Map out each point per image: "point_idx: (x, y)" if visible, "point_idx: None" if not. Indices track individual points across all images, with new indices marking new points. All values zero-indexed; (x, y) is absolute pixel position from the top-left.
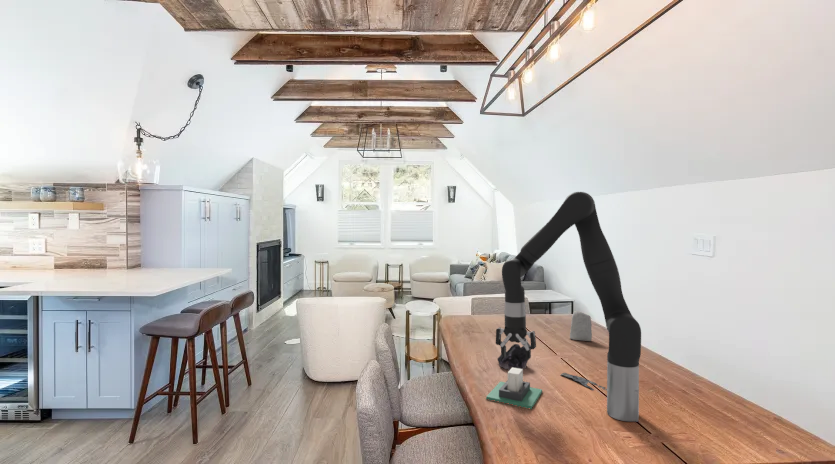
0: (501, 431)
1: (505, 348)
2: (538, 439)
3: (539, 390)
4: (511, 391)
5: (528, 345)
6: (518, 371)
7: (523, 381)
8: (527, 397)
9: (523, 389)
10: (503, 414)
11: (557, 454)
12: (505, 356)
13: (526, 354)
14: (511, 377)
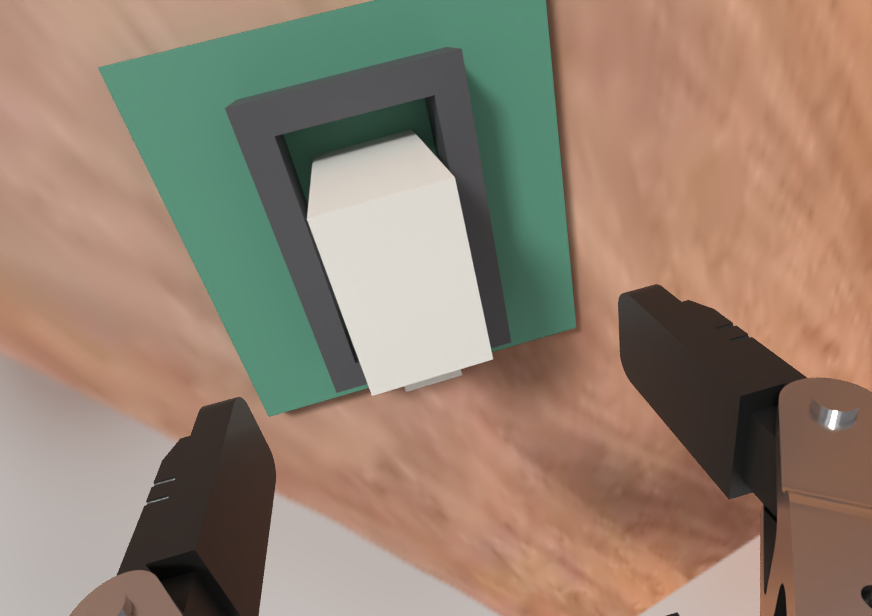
0: (532, 562)
1: (227, 540)
2: (676, 510)
3: (529, 8)
4: None
5: (853, 470)
6: (451, 290)
7: (394, 71)
8: (502, 227)
9: (485, 253)
10: (466, 464)
11: (752, 531)
12: (256, 424)
13: (691, 433)
14: (425, 382)
